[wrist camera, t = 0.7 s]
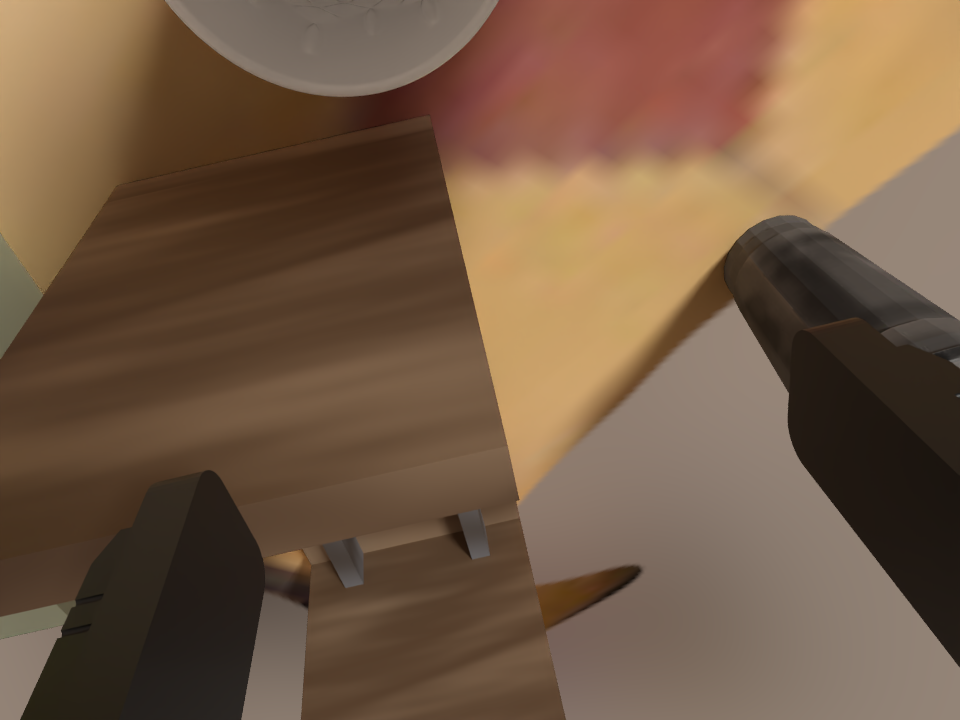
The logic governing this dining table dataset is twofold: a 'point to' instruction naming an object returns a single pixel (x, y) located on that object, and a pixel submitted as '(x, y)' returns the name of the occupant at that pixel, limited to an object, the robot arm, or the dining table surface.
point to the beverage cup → (825, 292)
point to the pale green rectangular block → (3, 311)
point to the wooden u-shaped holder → (290, 416)
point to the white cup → (336, 39)
